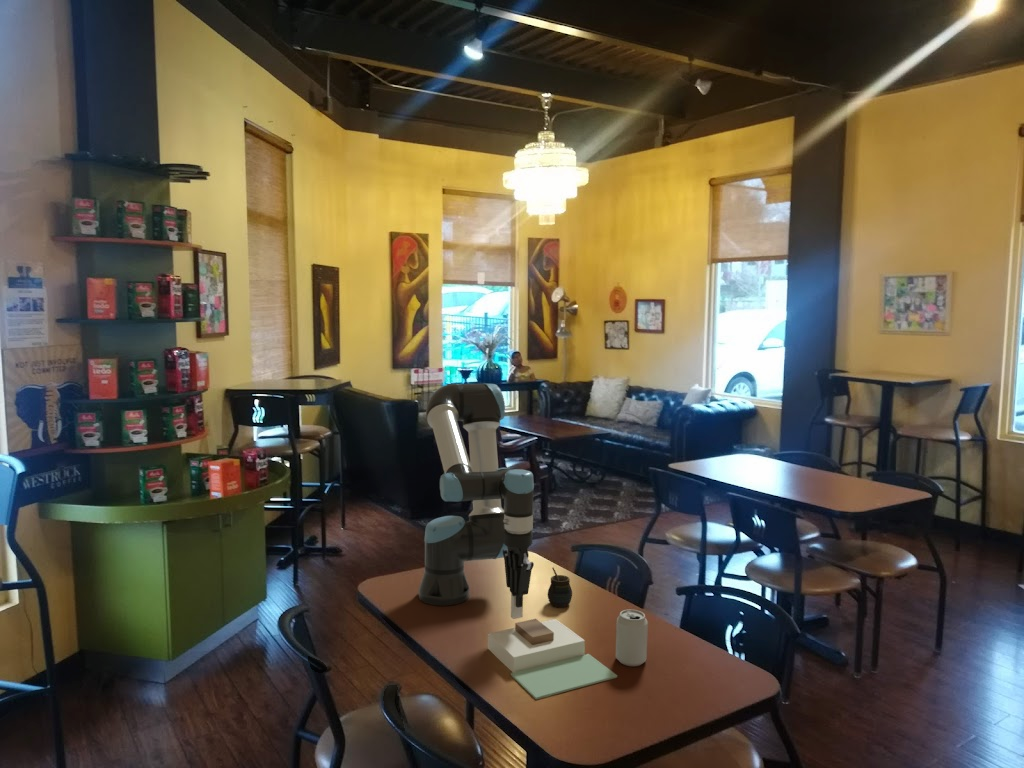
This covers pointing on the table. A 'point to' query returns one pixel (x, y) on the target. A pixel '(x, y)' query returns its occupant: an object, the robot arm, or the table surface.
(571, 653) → the white flat block
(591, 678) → the mat
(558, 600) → the mate gourd
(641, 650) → the can
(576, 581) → the table surface
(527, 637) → the brown wooden slab
